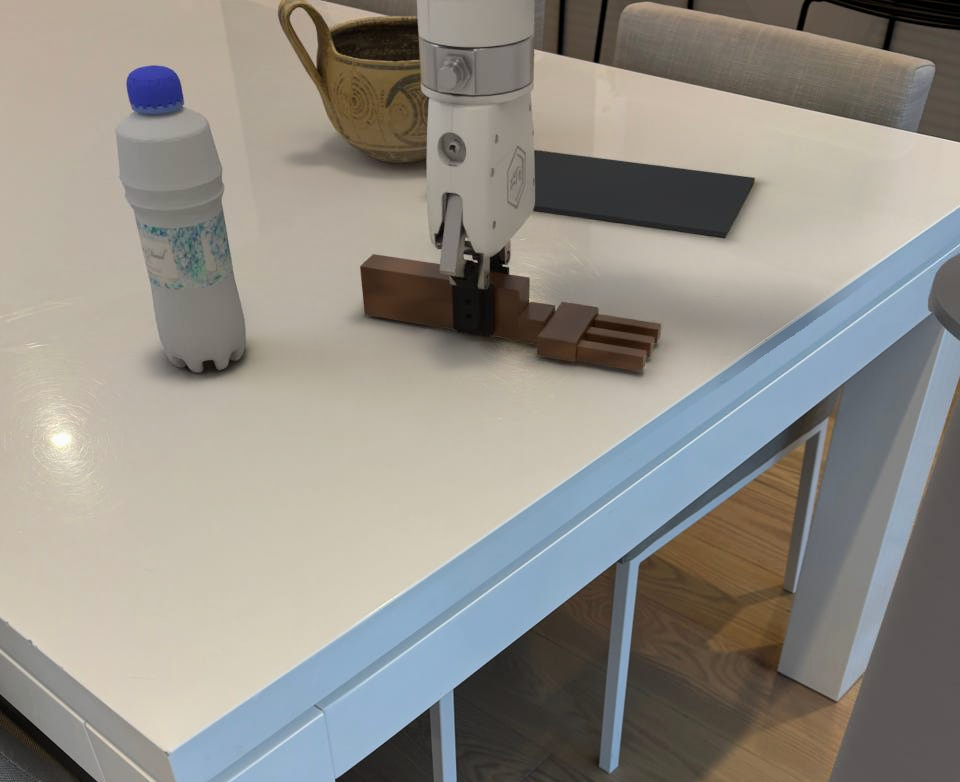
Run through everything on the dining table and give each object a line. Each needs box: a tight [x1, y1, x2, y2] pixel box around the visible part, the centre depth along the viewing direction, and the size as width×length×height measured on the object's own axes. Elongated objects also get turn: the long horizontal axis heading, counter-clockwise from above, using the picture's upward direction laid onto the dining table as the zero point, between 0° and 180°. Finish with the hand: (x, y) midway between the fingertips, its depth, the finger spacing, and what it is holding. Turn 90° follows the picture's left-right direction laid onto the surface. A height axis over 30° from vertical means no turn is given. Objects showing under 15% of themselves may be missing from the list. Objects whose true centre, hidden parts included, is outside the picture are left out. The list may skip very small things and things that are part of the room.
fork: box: [359, 253, 662, 372], centre depth 82 cm, size 23×6×4 cm, turn 69°
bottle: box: [115, 64, 247, 374], centre depth 74 cm, size 7×7×20 cm
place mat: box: [533, 149, 756, 238], centre depth 104 cm, size 28×14×1 cm, turn 69°
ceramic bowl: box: [277, 0, 429, 164], centre depth 107 cm, size 22×17×15 cm
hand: (481, 321), depth 83 cm, fingers closed on fork, 2 cm apart
